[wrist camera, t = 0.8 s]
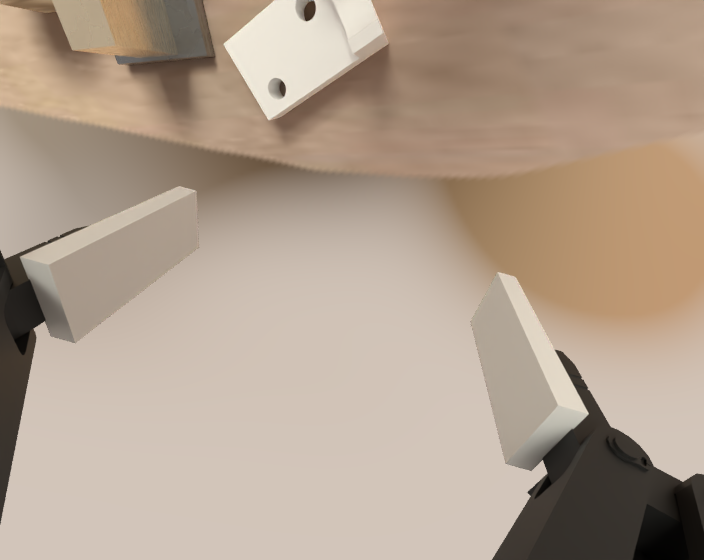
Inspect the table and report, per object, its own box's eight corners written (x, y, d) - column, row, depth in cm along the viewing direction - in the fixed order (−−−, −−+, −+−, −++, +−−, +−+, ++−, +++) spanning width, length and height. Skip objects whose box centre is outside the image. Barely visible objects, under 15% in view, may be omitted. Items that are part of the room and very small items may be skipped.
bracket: (352, -45, 28) (335, -85, 21) (389, 43, 30) (383, 32, 24) (240, 48, 32) (198, 38, 26) (280, 117, 35) (251, 124, 29)
